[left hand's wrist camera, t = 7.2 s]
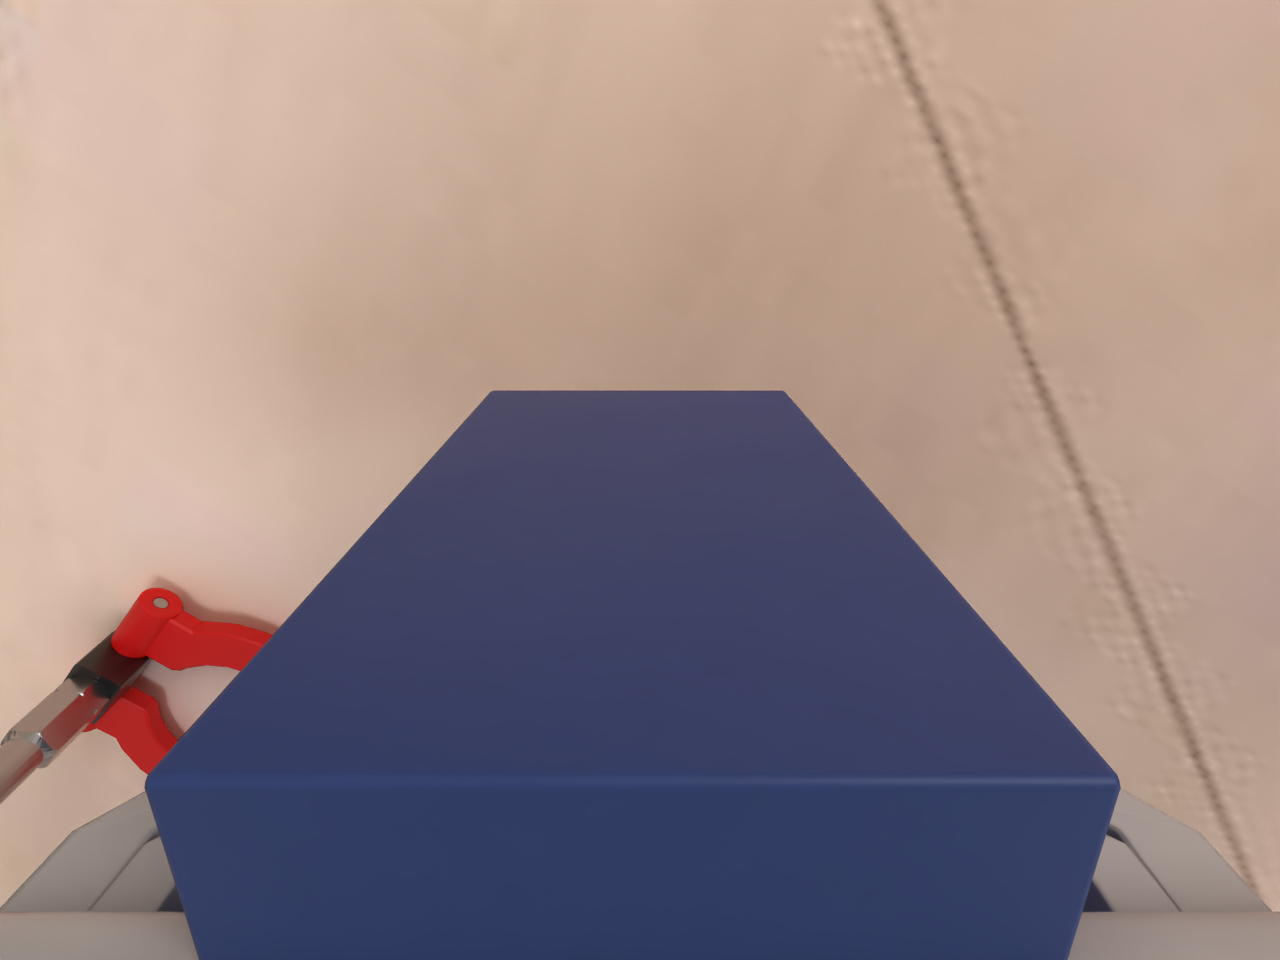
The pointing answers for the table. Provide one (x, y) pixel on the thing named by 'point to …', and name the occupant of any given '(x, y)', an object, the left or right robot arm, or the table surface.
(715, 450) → the box
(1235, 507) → the table surface
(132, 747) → the tow hook
